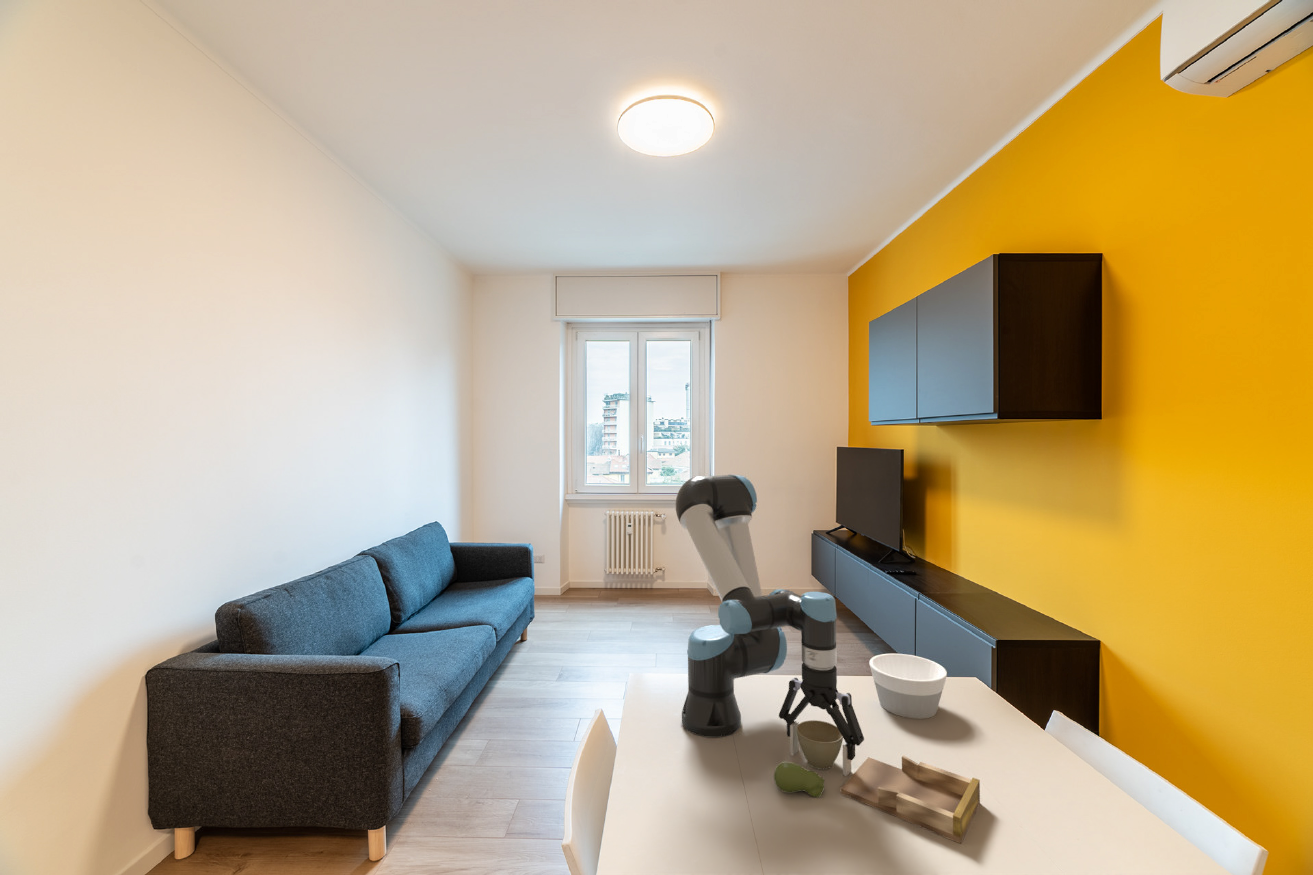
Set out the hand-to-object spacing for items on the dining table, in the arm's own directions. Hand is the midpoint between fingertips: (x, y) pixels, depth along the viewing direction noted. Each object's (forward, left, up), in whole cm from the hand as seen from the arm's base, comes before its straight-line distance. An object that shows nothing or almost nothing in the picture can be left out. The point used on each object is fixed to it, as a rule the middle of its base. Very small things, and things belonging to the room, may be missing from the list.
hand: (820, 762), depth 125 cm
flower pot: (0, 0, 0) cm, 0 cm away
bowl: (+6, +41, 0) cm, 41 cm away
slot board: (+19, 0, 0) cm, 19 cm away
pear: (+1, -12, -1) cm, 12 cm away
